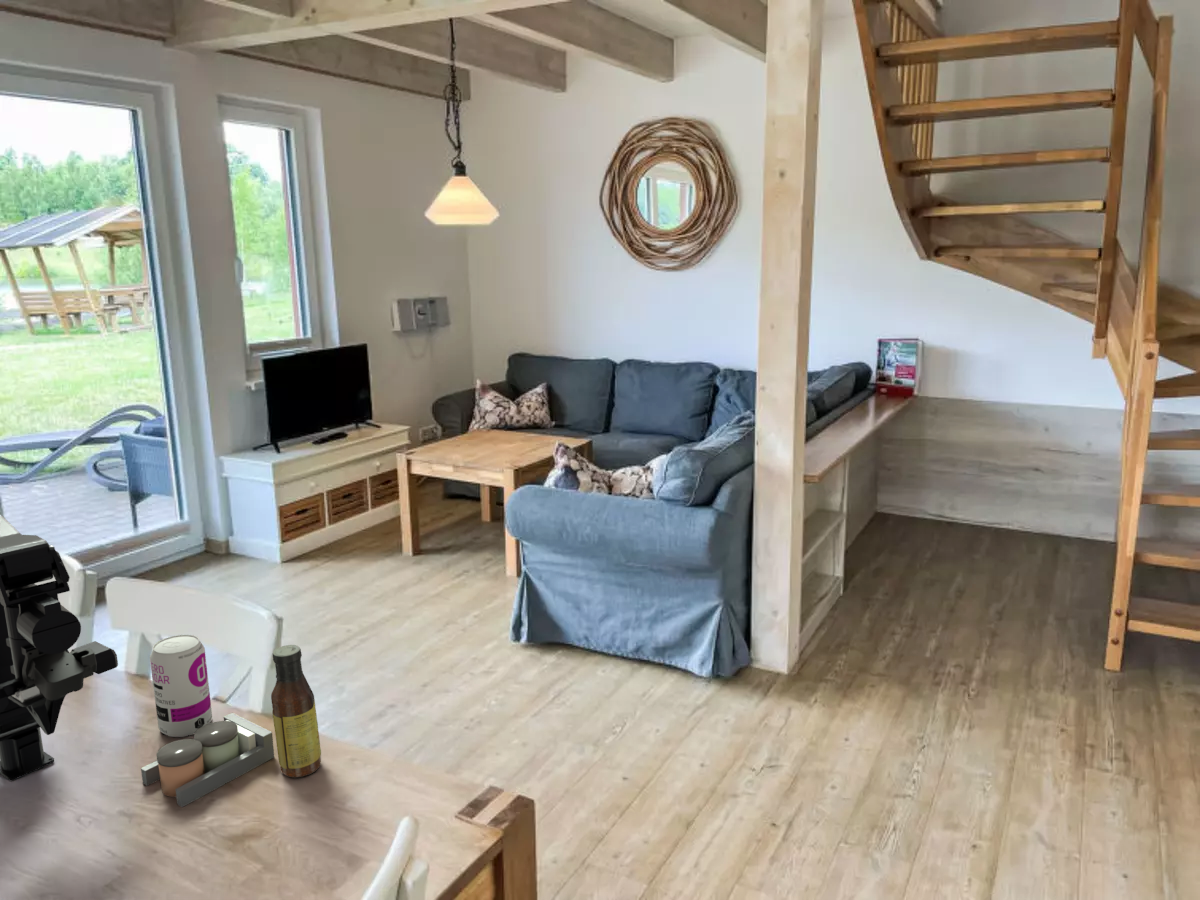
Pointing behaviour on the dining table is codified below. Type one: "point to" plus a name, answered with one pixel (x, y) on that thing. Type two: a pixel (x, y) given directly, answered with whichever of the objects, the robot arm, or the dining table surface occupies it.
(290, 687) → the sauce bottle
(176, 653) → the supplement can
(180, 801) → the lane
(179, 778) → the jar terracotta
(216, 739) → the jar sage
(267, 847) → the dining table surface
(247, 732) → the bar
